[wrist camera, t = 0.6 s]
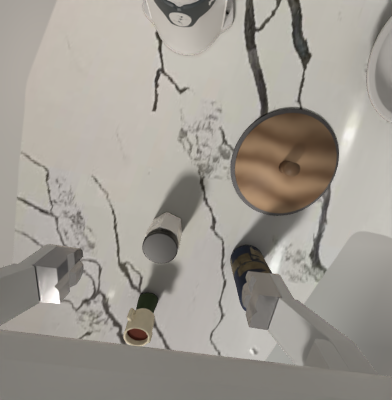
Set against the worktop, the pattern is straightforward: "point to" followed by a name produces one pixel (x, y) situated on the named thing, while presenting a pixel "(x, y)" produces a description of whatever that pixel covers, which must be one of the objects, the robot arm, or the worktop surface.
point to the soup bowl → (381, 73)
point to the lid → (285, 163)
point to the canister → (246, 266)
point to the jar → (163, 238)
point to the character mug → (141, 321)
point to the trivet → (251, 130)
